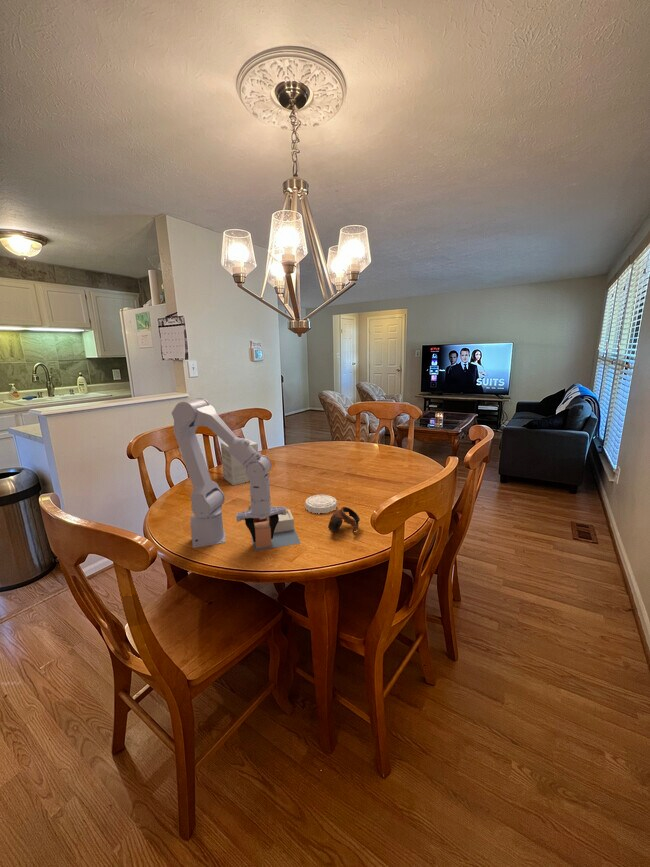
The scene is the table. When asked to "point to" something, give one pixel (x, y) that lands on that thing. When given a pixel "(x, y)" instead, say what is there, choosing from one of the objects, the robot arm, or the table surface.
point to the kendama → (255, 518)
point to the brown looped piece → (339, 515)
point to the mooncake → (320, 504)
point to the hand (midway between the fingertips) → (262, 538)
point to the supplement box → (234, 465)
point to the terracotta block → (262, 534)
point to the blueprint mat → (281, 540)
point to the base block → (284, 522)
